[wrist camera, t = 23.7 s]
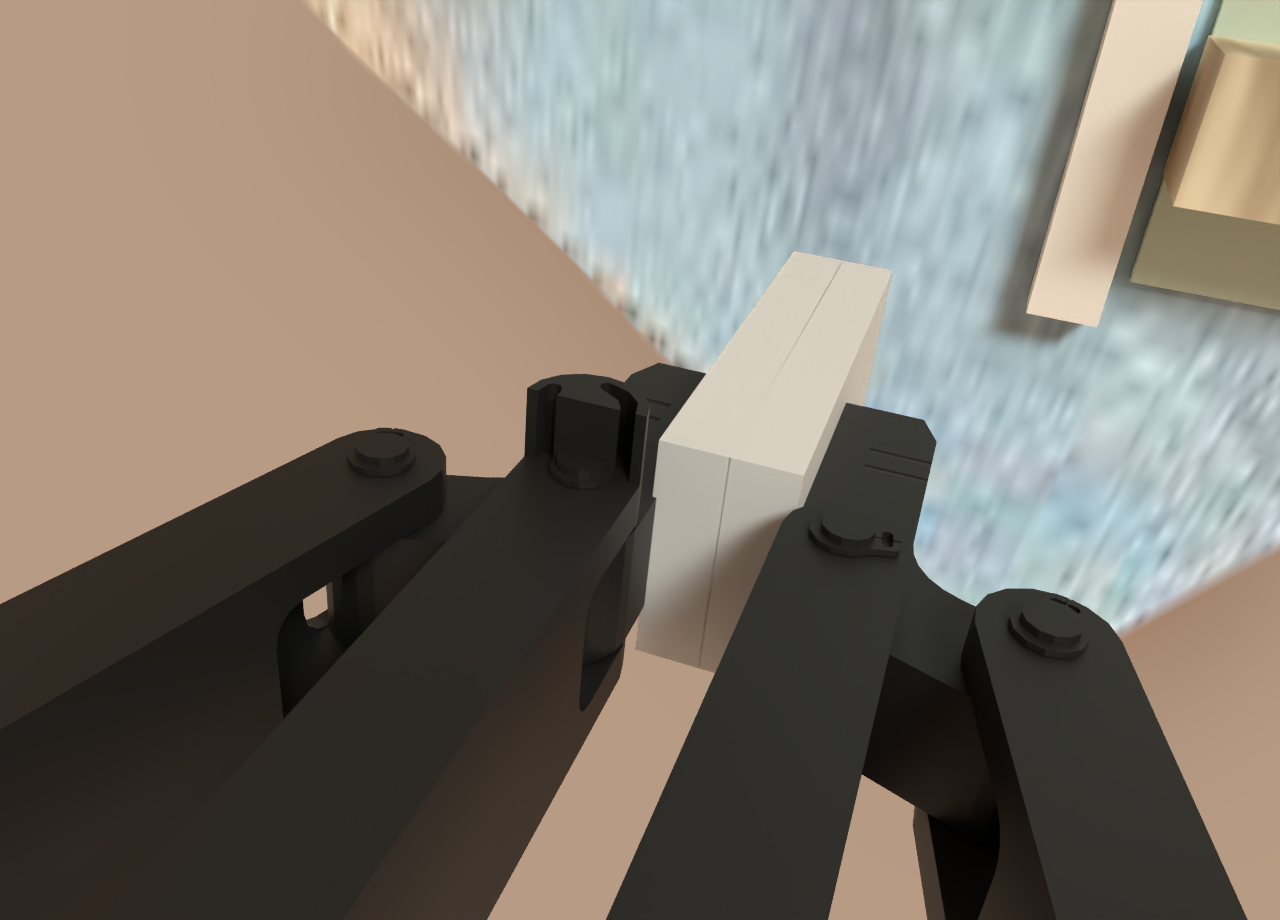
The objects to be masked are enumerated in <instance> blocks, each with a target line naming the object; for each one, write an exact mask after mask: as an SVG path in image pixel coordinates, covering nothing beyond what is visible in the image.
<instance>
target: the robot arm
mask: <svg viewBox="0 0 1280 920" xmlns="http://www.w3.org/2000/svg"><path fill="white" fill-rule="evenodd" d="M892 272H893V271H892V270H887V269H882V268H877V267H872V266H867V265H862V264H857V263H851V262H846V261H841V260H836V259H831V258H826V257H821V256H816V255H810V254H805V253H800V252H795V251H794V252H793V253H792V255H791V256H790V257H789V259H788V260H787V262H786V263H785V264H784V266H783V267H782V269H781V270H780V271H779V273H778V274H777V276H776V277H775V278H774V280H773V281H772V283H771V284H770V285H769V287H768V288H767V290H766V291H765V292H764V294H763V295H762V297H761V298H760V299H759V301H758V302H757V304H756V305H755V306H754V308H753V309H752V311H751V312H750V313H749V315H748V316H747V318H746V319H745V320H744V322H743V323H742V325H741V326H740V327H739V329H738V330H737V332H736V333H735V334H734V336H733V337H732V339H731V340H730V341H729V343H728V344H727V346H726V347H725V348H724V350H723V351H722V353H721V354H720V355H719V357H718V358H717V360H716V361H715V362H714V364H713V365H712V367H711V368H710V369H709V371H708V372H707V374H706V373H701V372H697V371H692V370H688V369H684V368H679V367H675V366H670V365H666V364H662V363H657V364H655V365H653V366H650V367H648V368H646V369H643V370H641V371H639V372H636V373H634V374H632V375H631V376H630V377H629V378H628V379H627V380H626V381H625V382H621V381H618V380H615V379H612V378H609V377H603V376H596V375H588V374H570V375H559V376H555V377H550V378H547V379H542V380H540V381H539V382H537V383H535V384H533V385H532V386H530V387H528V389H527V408H526V432H525V456H524V457H523V459H522V460H521V461H520V462H519V463H518V464H517V465H516V467H514V469H512V471H511V472H510V473H509V474H508V475H507V476H506V477H505V478H485V477H469V476H455V475H446V456H445V454H444V452H443V450H442V448H441V446H440V445H439V444H437V443H435V442H434V441H433V440H431V439H429V438H428V437H426V436H424V435H420V434H417V433H413V432H410V431H407V430H403V429H396V428H395V429H391V428H377V429H374V430H366V431H358V432H355V433H352V434H349V435H346V436H343V437H340V438H337V439H335V440H333V441H331V442H329V443H327V444H325V445H323V446H321V447H319V448H317V449H315V450H313V451H311V452H309V453H307V454H305V455H303V456H301V457H299V458H297V459H295V460H292V461H291V462H289V463H286V464H284V465H282V466H280V467H278V468H276V469H275V470H272V471H270V472H268V473H266V474H264V475H262V476H260V477H258V478H256V479H254V480H252V481H250V482H248V483H246V484H244V485H242V486H240V487H238V488H236V489H233V490H231V491H229V492H228V493H225V494H223V495H222V496H219V497H217V498H215V499H213V500H211V501H209V502H207V503H205V504H203V505H201V506H199V507H197V508H195V509H193V510H191V511H189V512H187V513H185V514H183V515H181V516H179V517H177V518H175V519H172V520H171V521H169V522H166V523H164V524H162V525H160V526H158V527H156V528H154V529H152V530H150V531H148V532H146V533H144V534H142V535H140V536H138V537H136V538H134V539H132V540H130V541H128V542H126V543H124V544H122V545H120V546H118V547H116V548H113V549H112V550H109V551H107V552H105V553H103V554H101V555H99V556H97V557H95V558H93V559H91V560H89V561H87V562H85V563H83V564H81V565H79V566H77V567H75V568H73V569H71V570H69V571H67V572H65V573H63V574H61V575H59V576H57V577H55V578H52V579H50V580H48V581H46V582H44V583H42V584H41V585H39V586H36V587H34V588H32V589H30V590H28V591H26V592H24V593H22V594H20V595H18V596H16V597H14V598H12V599H10V600H8V601H6V602H4V603H2V604H0V920H487V919H488V917H489V915H490V913H491V911H492V909H493V908H494V905H495V904H496V902H497V900H498V899H499V897H500V895H501V893H502V891H503V889H504V888H505V886H506V884H507V882H508V880H509V878H510V877H511V875H512V873H513V871H514V869H515V868H516V866H517V864H518V862H519V860H520V858H521V857H522V855H523V853H524V851H525V849H526V847H527V846H528V844H529V842H530V840H531V838H532V837H533V835H534V833H535V831H536V829H537V827H538V825H539V824H540V822H541V820H542V818H543V816H544V815H545V813H546V811H547V809H548V807H549V805H550V804H551V802H552V800H553V798H554V796H555V795H556V793H557V791H558V789H559V787H560V785H561V784H562V782H563V780H564V778H565V776H566V774H567V773H568V771H569V769H570V767H571V765H572V764H573V762H574V760H575V758H576V756H577V754H578V753H579V751H580V749H581V747H582V745H583V744H584V742H585V740H586V738H587V736H588V734H589V733H590V731H591V729H592V727H593V725H594V723H595V722H596V720H597V718H598V716H599V714H600V712H601V711H602V709H603V707H604V705H605V703H606V702H607V699H608V698H609V696H610V694H611V692H612V691H613V689H614V687H615V685H616V683H617V681H618V680H619V678H620V674H621V670H622V665H623V657H624V648H625V639H626V637H627V635H628V633H629V631H630V630H631V628H632V626H633V624H634V623H635V621H636V619H637V617H638V616H639V622H638V632H637V640H636V650H640V651H643V652H646V653H649V654H653V655H656V656H660V657H663V658H666V659H670V660H673V661H676V662H680V663H684V664H687V665H690V666H694V667H697V668H700V669H703V670H707V671H710V672H714V673H715V675H714V677H713V679H712V681H711V684H710V686H709V688H708V691H707V693H706V695H705V697H704V699H703V702H702V704H701V706H700V708H699V711H698V713H697V716H696V717H695V720H694V722H693V724H692V726H691V729H690V731H689V733H688V736H687V738H686V740H685V743H684V745H683V747H682V749H681V752H680V754H679V756H678V758H677V761H676V763H675V765H674V767H673V769H672V772H671V774H670V776H669V778H668V781H667V783H666V785H665V788H664V790H663V792H662V795H661V797H660V799H659V801H658V803H657V806H656V808H655V810H654V812H653V815H652V817H651V819H650V822H649V824H648V826H647V828H646V830H645V833H644V835H643V837H642V839H641V842H640V844H639V846H638V849H637V851H636V853H635V855H634V858H633V860H632V862H631V864H630V867H629V869H628V871H627V873H626V876H625V878H624V880H623V882H622V885H621V887H620V889H619V891H618V894H617V896H616V898H615V901H614V903H613V905H612V907H611V909H610V912H609V914H608V916H607V919H606V920H828V917H829V913H830V909H831V904H832V900H833V896H834V891H835V887H836V882H837V878H838V874H839V869H840V865H841V861H842V857H843V852H844V848H845V843H846V839H847V835H848V831H849V826H850V822H851V818H852V813H853V809H854V805H855V800H856V796H857V792H858V787H859V783H860V779H861V775H864V776H866V777H867V778H869V779H871V780H872V781H874V782H876V783H877V784H879V785H881V786H882V787H884V788H886V789H887V790H889V791H891V792H892V793H894V794H896V795H898V796H899V797H901V798H903V799H904V800H906V801H908V802H909V803H911V804H913V805H914V806H915V809H914V819H913V829H914V836H915V842H916V849H917V855H918V861H919V868H920V875H921V881H922V888H923V894H924V900H925V907H926V913H927V919H928V920H1247V918H1246V916H1245V913H1244V911H1243V909H1242V907H1241V904H1240V902H1239V900H1238V898H1237V895H1236V893H1235V891H1234V889H1233V887H1232V884H1231V882H1230V880H1229V878H1228V875H1227V873H1226V871H1225V869H1224V867H1223V864H1222V862H1221V860H1220V858H1219V856H1218V853H1217V851H1216V849H1215V847H1214V844H1213V842H1212V840H1211V838H1210V836H1209V834H1208V831H1207V829H1206V827H1205V825H1204V822H1203V820H1202V818H1201V816H1200V813H1199V811H1198V809H1197V807H1196V805H1195V802H1194V800H1193V798H1192V796H1191V794H1190V791H1189V789H1188V787H1187V785H1186V782H1185V780H1184V778H1183V776H1182V773H1181V771H1180V769H1179V767H1178V765H1177V762H1176V760H1175V758H1174V756H1173V754H1172V751H1171V749H1170V747H1169V745H1168V743H1167V741H1166V738H1165V736H1164V734H1163V731H1162V729H1161V727H1160V725H1159V722H1158V721H1157V718H1156V716H1155V714H1154V711H1153V709H1152V707H1151V705H1150V703H1149V700H1148V698H1147V696H1146V694H1145V691H1144V689H1143V687H1142V685H1141V683H1140V680H1139V678H1138V676H1137V674H1136V671H1135V669H1134V668H1133V665H1132V663H1131V661H1130V658H1129V656H1128V654H1127V652H1126V649H1125V647H1124V645H1123V643H1122V641H1121V640H1120V638H1119V637H1118V636H1117V634H1116V633H1115V631H1114V630H1113V629H1112V627H1111V626H1110V625H1109V623H1107V622H1106V621H1105V620H1103V619H1102V618H1101V617H1099V616H1098V615H1097V614H1095V613H1094V612H1092V611H1091V610H1090V609H1088V608H1087V607H1085V606H1083V605H1081V604H1079V603H1077V602H1075V601H1073V600H1070V599H1068V598H1066V597H1064V596H1061V595H1058V594H1054V593H1048V592H1044V591H1040V590H1036V589H1004V590H1001V591H997V592H994V593H991V594H988V595H986V596H985V598H984V599H983V600H982V601H981V602H980V603H979V604H978V605H977V606H976V607H975V606H973V605H971V604H969V603H967V602H965V601H963V600H961V599H959V598H957V597H955V596H954V595H952V594H950V593H948V592H946V591H945V590H943V589H942V588H940V587H939V586H938V585H937V584H935V583H934V582H933V581H932V580H930V579H929V578H928V577H927V576H926V574H925V573H924V572H923V571H922V569H921V568H920V567H919V566H918V563H917V561H916V559H915V556H914V550H913V543H914V539H915V534H916V530H917V526H918V521H919V517H920V512H921V508H922V504H923V499H924V495H925V490H926V486H927V481H928V477H929V473H930V468H931V464H932V460H933V455H934V451H935V447H936V440H935V438H934V437H933V435H932V433H931V431H930V430H929V428H928V426H927V424H926V423H925V421H924V420H921V419H917V418H913V417H908V416H904V415H899V414H895V413H890V412H886V411H882V410H877V409H873V408H868V407H864V402H865V397H866V393H867V388H868V383H869V379H870V374H871V369H872V365H873V360H874V356H875V351H876V346H877V342H878V337H879V332H880V328H881V323H882V318H883V314H884V309H885V305H886V300H887V295H888V291H889V286H890V281H891V277H892ZM324 586H326V589H327V604H328V609H327V610H326V611H324V612H322V613H321V614H319V615H318V616H316V617H314V618H311V619H308V620H306V619H305V616H304V609H303V599H305V598H306V597H308V596H309V595H311V594H313V593H314V592H316V591H317V590H319V589H321V588H322V587H324Z"/></svg>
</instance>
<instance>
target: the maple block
mask: <svg viewBox="0 0 1280 920" xmlns="http://www.w3.org/2000/svg"><path fill="white" fill-rule="evenodd" d="M1163 176H1164V179H1165V182H1166V185H1167V188H1168V192H1169V195H1170V198H1171V201H1172V204H1173V206H1175V207H1180V208H1186V209H1192V210H1197V211H1203V212H1209V213H1215V214H1220V215H1226V216H1232V217H1237V218H1243V219H1249V220H1255V221H1260V222H1266V223H1272V224H1278V225H1280V45H1276V44H1269V43H1261V42H1254V41H1247V40H1240V39H1233V38H1225V37H1218V36H1211V35H1209V36H1208V39H1207V42H1206V45H1205V48H1204V51H1203V54H1202V57H1201V59H1200V62H1199V65H1198V68H1197V71H1196V74H1195V77H1194V80H1193V83H1192V86H1191V89H1190V92H1189V95H1188V98H1187V101H1186V104H1185V107H1184V110H1183V113H1182V116H1181V119H1180V122H1179V125H1178V128H1177V131H1176V134H1175V137H1174V140H1173V143H1172V146H1171V149H1170V152H1169V155H1168V158H1167V161H1166V164H1165V167H1164V170H1163Z"/></svg>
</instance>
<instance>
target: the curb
mask: <svg viewBox="0 0 1280 920" xmlns="http://www.w3.org/2000/svg"><path fill="white" fill-rule="evenodd" d="M1202 2H1203V0H1113V2H1112V5H1111V9H1110V12H1109V16H1108V19H1107V23H1106V26H1105V30H1104V33H1103V37H1102V40H1101V44H1100V47H1099V51H1098V54H1097V58H1096V61H1095V65H1094V68H1093V72H1092V75H1091V79H1090V82H1089V86H1088V89H1087V93H1086V96H1085V100H1084V103H1083V107H1082V110H1081V114H1080V117H1079V121H1078V124H1077V128H1076V131H1075V135H1074V138H1073V142H1072V145H1071V149H1070V152H1069V156H1068V159H1067V163H1066V166H1065V170H1064V173H1063V177H1062V180H1061V184H1060V187H1059V191H1058V194H1057V198H1056V201H1055V205H1054V208H1053V212H1052V215H1051V219H1050V222H1049V226H1048V229H1047V233H1046V236H1045V240H1044V243H1043V247H1042V250H1041V254H1040V257H1039V261H1038V264H1037V268H1036V271H1035V275H1034V278H1033V282H1032V285H1031V289H1030V292H1029V296H1028V299H1027V310H1026V313H1028V314H1033V315H1038V316H1043V317H1048V318H1053V319H1058V320H1063V321H1068V322H1073V323H1078V324H1083V325H1088V326H1093V327H1097V326H1098V323H1099V320H1100V317H1101V314H1102V311H1103V308H1104V304H1105V301H1106V298H1107V295H1108V292H1109V289H1110V286H1111V283H1112V280H1113V277H1114V274H1115V271H1116V267H1117V264H1118V261H1119V258H1120V255H1121V252H1122V249H1123V246H1124V243H1125V240H1126V237H1127V234H1128V230H1129V227H1130V224H1131V221H1132V218H1133V215H1134V212H1135V209H1136V206H1137V203H1138V200H1139V197H1140V193H1141V190H1142V187H1143V184H1144V181H1145V178H1146V175H1147V172H1148V169H1149V166H1150V163H1151V160H1152V156H1153V153H1154V150H1155V147H1156V144H1157V141H1158V138H1159V135H1160V132H1161V129H1162V126H1163V123H1164V119H1165V116H1166V113H1167V110H1168V107H1169V104H1170V101H1171V98H1172V95H1173V92H1174V89H1175V86H1176V83H1177V79H1178V76H1179V73H1180V70H1181V67H1182V64H1183V61H1184V58H1185V55H1186V52H1187V49H1188V46H1189V42H1190V39H1191V36H1192V33H1193V30H1194V27H1195V24H1196V21H1197V18H1198V15H1199V12H1200V9H1201V5H1202Z"/></svg>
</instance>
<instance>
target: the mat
mask: <svg viewBox="0 0 1280 920" xmlns="http://www.w3.org/2000/svg"><path fill="white" fill-rule="evenodd" d="M1211 36H1218V37H1225V38H1233V39H1240V40H1247V41H1254V42H1261V43H1269V44H1276V45H1280V0H1222V3H1221V6H1220V9H1219V12H1218V15H1217V18H1216V21H1215V24H1214V27H1213V30H1212V33H1211ZM1130 282H1133V283H1138V284H1144V285H1149V286H1154V287H1159V288H1165V289H1170V290H1175V291H1180V292H1186V293H1191V294H1196V295H1202V296H1207V297H1212V298H1217V299H1223V300H1228V301H1233V302H1239V303H1244V304H1249V305H1254V306H1260V307H1265V308H1270V309H1275V310H1280V225H1278V224H1272V223H1266V222H1260V221H1255V220H1249V219H1243V218H1237V217H1232V216H1226V215H1220V214H1215V213H1209V212H1203V211H1197V210H1192V209H1186V208H1180V207H1175V206H1173V204H1172V201H1171V198H1170V195H1169V192H1168V188H1167V185H1166V182H1165V179H1164V177H1163V180H1162V183H1161V186H1160V189H1159V192H1158V195H1157V198H1156V201H1155V204H1154V207H1153V210H1152V213H1151V216H1150V219H1149V222H1148V225H1147V228H1146V231H1145V234H1144V237H1143V240H1142V243H1141V246H1140V249H1139V252H1138V255H1137V258H1136V261H1135V264H1134V267H1133V270H1132V273H1131V276H1130Z"/></svg>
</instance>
